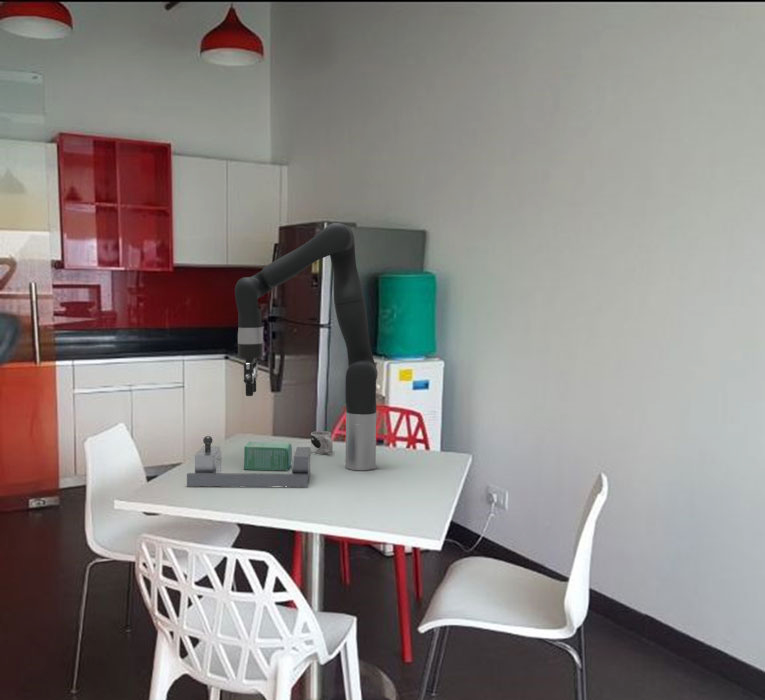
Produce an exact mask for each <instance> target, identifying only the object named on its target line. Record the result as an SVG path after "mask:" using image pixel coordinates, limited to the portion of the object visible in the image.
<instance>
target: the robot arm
mask: <svg viewBox="0 0 765 700" xmlns="http://www.w3.org/2000/svg"><path fill="white" fill-rule="evenodd" d="M355 245H356V244H355V235H354V232H353V230H352V229H351V228H350V227H349V226H347V225H346V224H344V223H341V222H333V223H330V224H327V225H326V227H324V228H323V229H322V230H321V231H319V232H318V233H317V234H316V235H315V236H314V237H312V238H311V239H309V240H307V242H306V243H304V244H303V245H301V246H299V247H297V248H296V249H294V250H292V251H290V252H288V253H287V254H285V255H283V256H281V257H279V258H277V259H276V260H274V261H272V262H271V263H269V264H267V265H265V266H264V267H263V268H262V270H260V271H258V272H257V273H255V274H254V275H252V276H249V277H248V276H247V277H245V276H244V277H241V278H239V279H238V280H237V282H236V284H235V288H234V296H235V297H234V298H235V302H236V308H237V312H238V313H237V314H238V318H237V320H238V321H237V322H238V331H237V357H238V358H239V359H245V362H244V363H243V367H242V368H243V383H244V385H245V396H246V397H253V395H254V393H256V392H257V380H258V372H259V370H258V366H259V364H258V358H262V357H263V355H264V352H263V350H264V349H263V348H264V347H263V346H264V342H263V330H262V329H263V328H262V312H261V310H260V309H259V303H258V299H259V298H261V297H263V296H264V295H266V294H267V293H269V292H270V291H271V290H273V289H275V287H278V286H280V285H282V284H283V283H285V282H287V281H289V280H290V279H293V278H294V277H295V276H297V275H298V274H300V273H301V272H303V271H304V270H305V269H307V268H308V267H309V266H311V265H312V264H314V263H316V262H317V261H319V260H321V259H325V258H326V257H330V262H331V265H332V270H333V303H334V309H335V314H336V319H337V324H338V326H339V328H340V332H341V335H342V337H343V340H344V343H345V346H346V352H347V353H346V354H347V362H348V364H347V365H348V368H347V370H346V373H345V407H346V408H345V410H346V411H345V412H346V413H345V415H346V417H345V418H346V419H345V459H344V460H345V461H344V462H345V465H344V467H345V469H348V470H352V471H369V470H376V466H377V465H376V464H377V461H376V458H377V456H376V455H377V428H376V427H377V379H378V370H377V366H376V363H375V358H374V356H373V352H372V348H371V344H370V337H369V324H368V315H367V309H366V303H365V297H364V291H363V288H362V283H361V279H360V277H359V272H358V268H357V260H356V258H357V257H356V247H355Z"/></svg>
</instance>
